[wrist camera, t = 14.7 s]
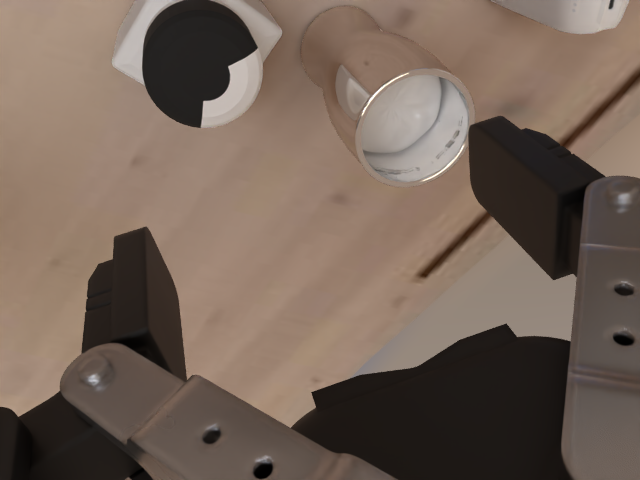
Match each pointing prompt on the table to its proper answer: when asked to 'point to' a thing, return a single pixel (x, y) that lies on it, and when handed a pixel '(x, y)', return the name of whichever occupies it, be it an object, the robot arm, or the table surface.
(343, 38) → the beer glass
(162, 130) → the table surface
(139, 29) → the medicine bottle
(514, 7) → the photo printer
